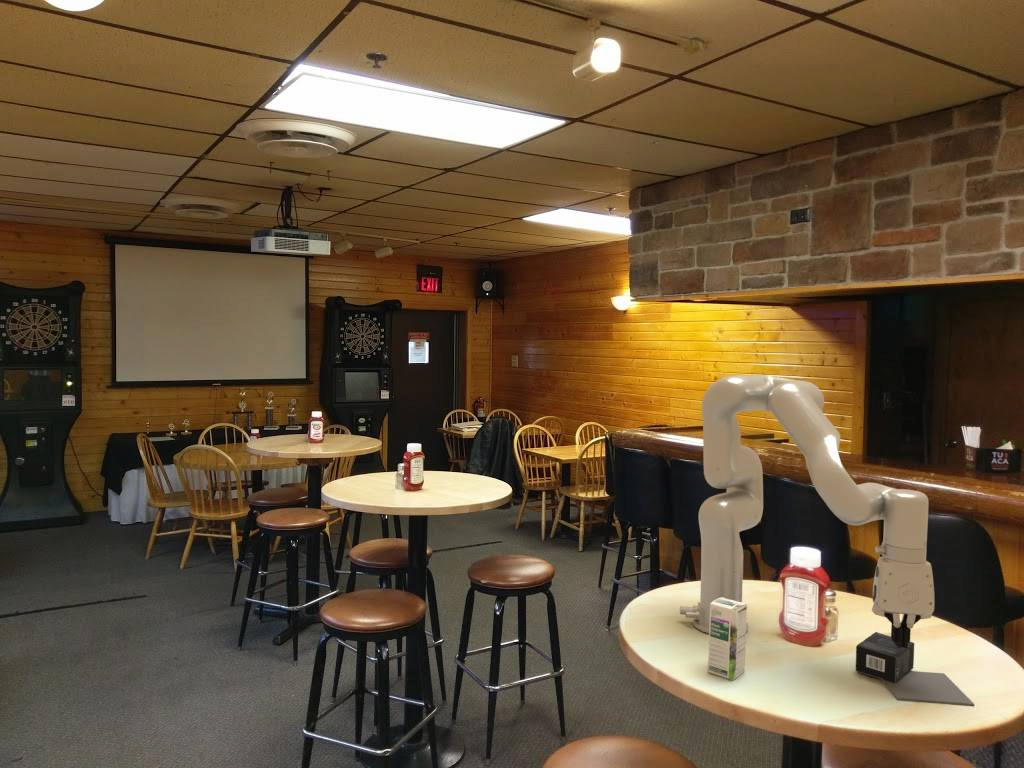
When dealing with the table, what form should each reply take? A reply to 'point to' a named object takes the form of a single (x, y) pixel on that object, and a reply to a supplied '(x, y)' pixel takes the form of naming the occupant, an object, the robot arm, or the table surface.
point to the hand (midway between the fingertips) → (900, 645)
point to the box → (884, 658)
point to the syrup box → (727, 638)
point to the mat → (928, 689)
